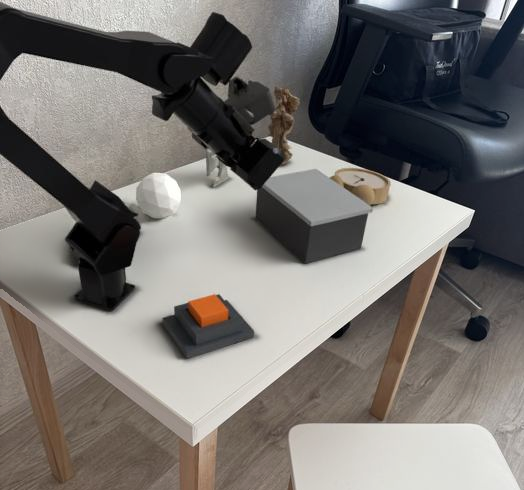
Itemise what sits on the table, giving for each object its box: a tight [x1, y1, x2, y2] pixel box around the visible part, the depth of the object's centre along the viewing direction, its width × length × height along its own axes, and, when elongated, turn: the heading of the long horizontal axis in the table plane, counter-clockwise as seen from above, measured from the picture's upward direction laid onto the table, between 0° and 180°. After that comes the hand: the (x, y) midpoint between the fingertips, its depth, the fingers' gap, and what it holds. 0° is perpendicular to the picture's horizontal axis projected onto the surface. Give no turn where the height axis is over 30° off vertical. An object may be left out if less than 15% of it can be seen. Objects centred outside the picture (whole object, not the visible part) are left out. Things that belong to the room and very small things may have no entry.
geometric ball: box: [135, 171, 182, 219], centre depth 100 cm, size 8×8×8 cm
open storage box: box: [254, 187, 369, 265], centre depth 99 cm, size 12×17×7 cm
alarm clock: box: [329, 167, 392, 207], centre depth 112 cm, size 11×5×15 cm
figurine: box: [267, 86, 301, 167], centre depth 120 cm, size 7×6×15 cm
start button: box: [187, 293, 228, 328], centre depth 76 cm, size 4×4×2 cm
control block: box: [161, 293, 255, 360], centre depth 78 cm, size 10×8×3 cm
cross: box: [205, 149, 230, 188], centre depth 111 cm, size 10×3×10 cm, turn 149°
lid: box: [262, 168, 374, 226], centre depth 97 cm, size 12×17×1 cm
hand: (266, 178), depth 89 cm, fingers closed
